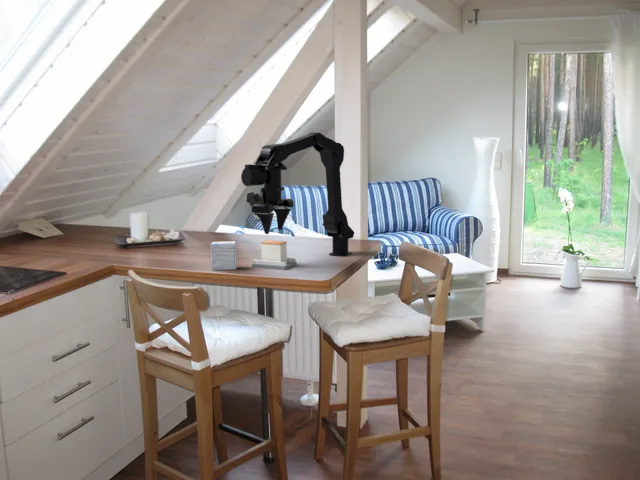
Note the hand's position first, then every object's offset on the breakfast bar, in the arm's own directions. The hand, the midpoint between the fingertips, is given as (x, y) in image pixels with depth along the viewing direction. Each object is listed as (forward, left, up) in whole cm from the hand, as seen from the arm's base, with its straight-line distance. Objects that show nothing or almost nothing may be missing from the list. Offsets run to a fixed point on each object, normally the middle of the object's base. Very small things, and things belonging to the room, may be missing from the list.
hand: (273, 231), depth 223 cm
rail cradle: (0, 0, -11) cm, 11 cm away
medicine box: (+10, -13, -12) cm, 20 cm away
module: (0, 0, -10) cm, 10 cm away
